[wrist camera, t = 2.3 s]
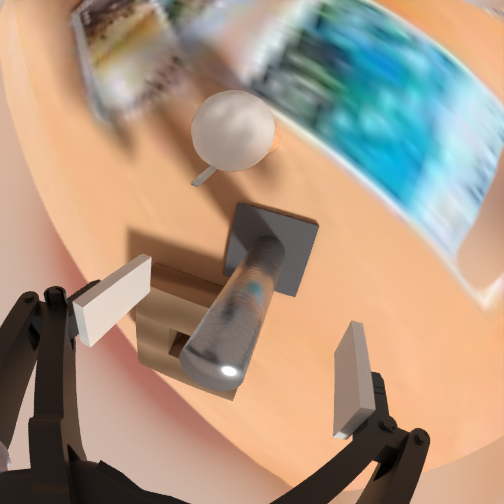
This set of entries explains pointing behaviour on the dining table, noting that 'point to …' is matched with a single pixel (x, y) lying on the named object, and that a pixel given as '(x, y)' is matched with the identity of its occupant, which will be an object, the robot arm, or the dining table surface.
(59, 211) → the dining table surface
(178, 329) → the hole block
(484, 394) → the dining table surface
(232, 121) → the milkshake
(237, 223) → the mat
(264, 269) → the pin
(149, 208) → the dining table surface
